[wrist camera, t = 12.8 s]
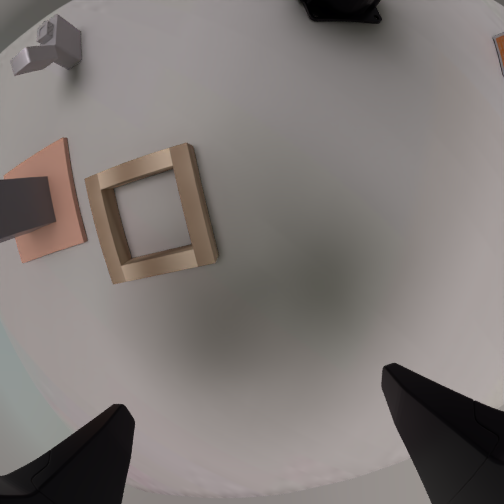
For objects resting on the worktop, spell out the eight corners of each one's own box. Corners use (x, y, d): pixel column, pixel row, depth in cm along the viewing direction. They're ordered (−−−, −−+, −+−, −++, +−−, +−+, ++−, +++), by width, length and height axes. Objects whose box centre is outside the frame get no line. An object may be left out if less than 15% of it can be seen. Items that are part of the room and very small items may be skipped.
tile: (66, 138, 17) (62, 137, 17) (87, 240, 20) (83, 242, 19) (7, 175, 18) (3, 175, 17) (25, 261, 20) (22, 263, 20)
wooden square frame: (193, 146, 18) (186, 142, 16) (218, 255, 20) (215, 263, 18) (98, 178, 18) (84, 178, 16) (123, 275, 20) (113, 284, 18)
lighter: (66, 39, 15) (18, 10, 7) (80, 30, 15) (34, -4, 7) (68, 96, 16) (7, 74, 9) (84, 86, 16) (24, 59, 9)
